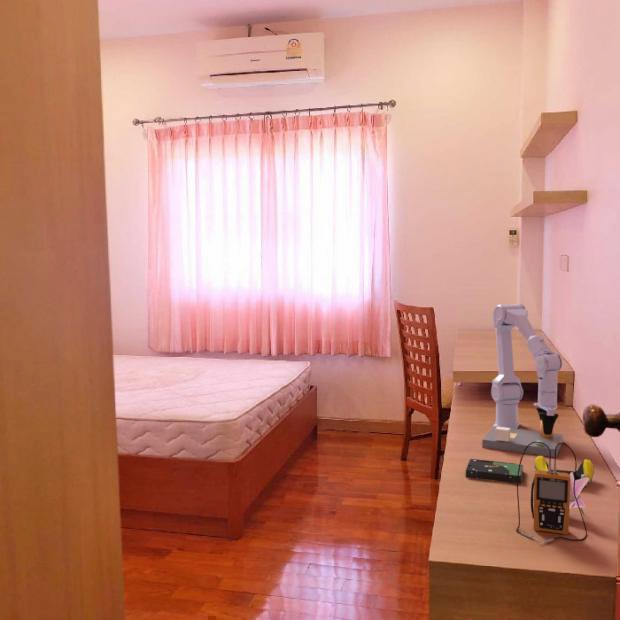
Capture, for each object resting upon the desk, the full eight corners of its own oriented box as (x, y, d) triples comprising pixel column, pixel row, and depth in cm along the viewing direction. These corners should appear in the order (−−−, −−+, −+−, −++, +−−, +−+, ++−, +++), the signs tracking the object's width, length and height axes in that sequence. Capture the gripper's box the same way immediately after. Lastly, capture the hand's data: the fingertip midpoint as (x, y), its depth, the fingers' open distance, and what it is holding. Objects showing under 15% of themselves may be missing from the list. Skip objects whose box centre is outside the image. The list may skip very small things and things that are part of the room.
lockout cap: (540, 434, 201) (541, 417, 200) (553, 435, 199) (554, 418, 198) (538, 437, 197) (539, 420, 197) (552, 438, 195) (552, 421, 195)
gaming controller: (533, 472, 172) (536, 485, 163) (534, 453, 172) (536, 465, 162) (591, 477, 168) (597, 491, 158) (592, 458, 168) (598, 470, 158)
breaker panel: (494, 432, 211) (494, 422, 211) (562, 441, 200) (563, 430, 200) (482, 447, 195) (482, 435, 195) (555, 457, 185) (556, 445, 184)
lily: (549, 505, 152) (535, 475, 150) (598, 492, 148) (583, 461, 145) (556, 540, 141) (541, 508, 139) (609, 528, 137) (594, 495, 135)
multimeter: (514, 542, 130) (516, 450, 128) (516, 523, 139) (518, 437, 138) (590, 553, 125) (593, 458, 123) (586, 533, 134) (589, 444, 133)
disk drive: (465, 479, 169) (522, 485, 163) (465, 469, 168) (522, 475, 163) (469, 467, 178) (523, 472, 173) (469, 458, 178) (523, 463, 173)
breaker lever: (497, 437, 196) (497, 426, 196) (510, 439, 194) (510, 428, 194) (495, 439, 193) (495, 428, 193) (508, 441, 191) (508, 430, 191)
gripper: (531, 385, 205) (530, 425, 206) (537, 395, 191) (536, 437, 192) (553, 386, 203) (552, 426, 204) (561, 396, 189) (560, 439, 190)
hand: (546, 432), depth 198 cm, fingers open, 5 cm apart
